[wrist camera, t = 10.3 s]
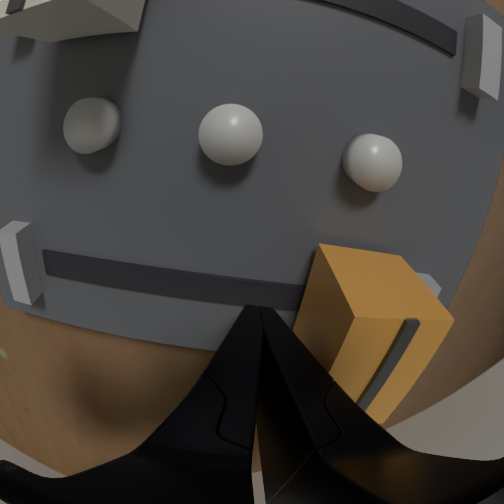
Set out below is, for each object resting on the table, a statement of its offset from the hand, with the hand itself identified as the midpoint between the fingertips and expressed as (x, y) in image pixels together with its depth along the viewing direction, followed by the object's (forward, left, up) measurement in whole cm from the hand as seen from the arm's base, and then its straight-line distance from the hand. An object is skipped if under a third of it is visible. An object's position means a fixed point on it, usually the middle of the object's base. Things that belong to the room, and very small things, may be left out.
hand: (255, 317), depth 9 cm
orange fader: (-3, 0, -1) cm, 3 cm away
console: (+1, -5, -3) cm, 6 cm away
